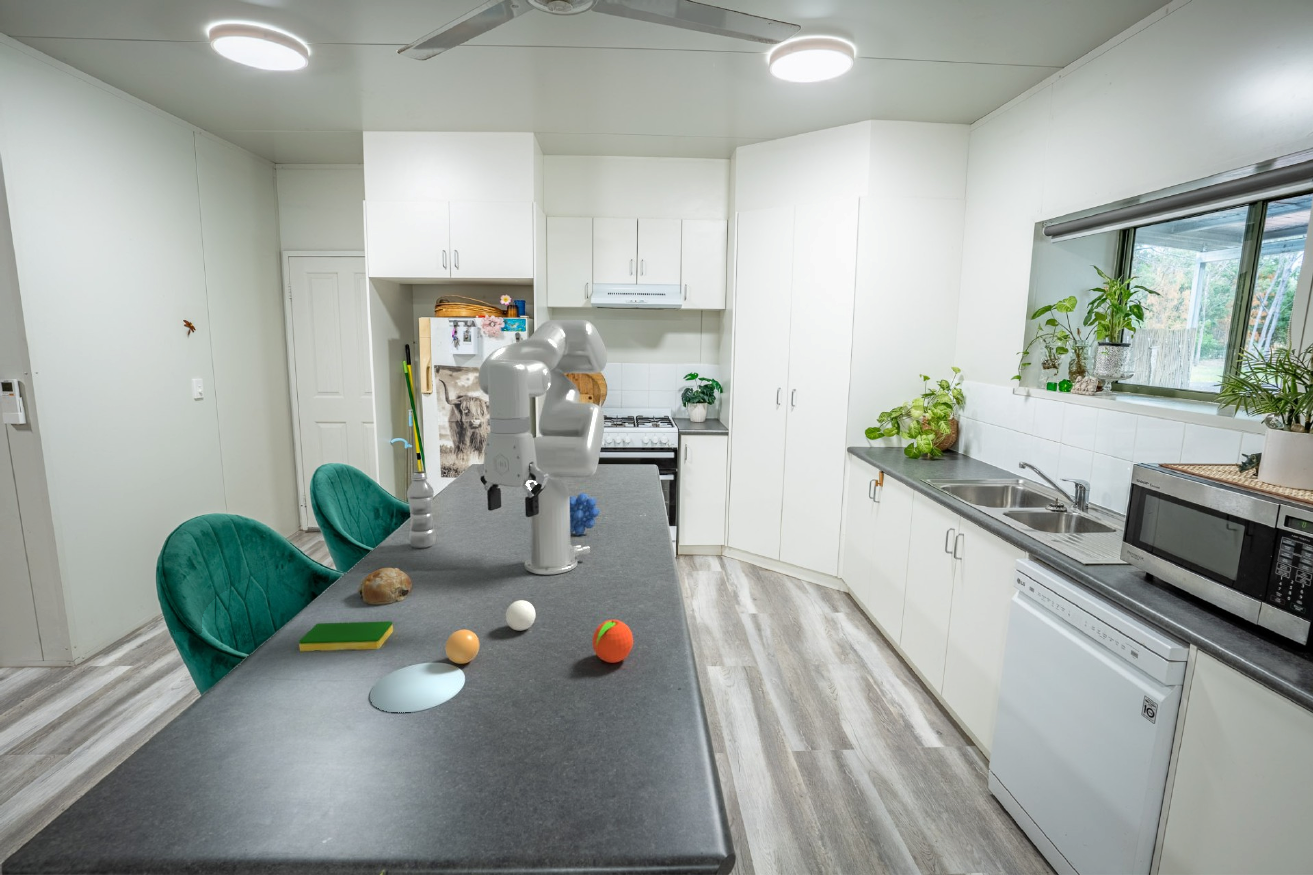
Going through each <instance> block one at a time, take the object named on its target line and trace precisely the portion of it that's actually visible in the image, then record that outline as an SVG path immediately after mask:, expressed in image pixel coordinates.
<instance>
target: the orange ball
mask: <svg viewBox="0 0 1313 875" xmlns="http://www.w3.org/2000/svg"><path fill="white" fill-rule="evenodd" d="M479 650H480V639H479V637H478V636H477V634H476V633H475V632H474V631H472V630H469V629H459V630H457V631H454V632H453V633H452V634H450V636H449V637H448V638H447V641H446V643H445V653H446V656H447V658H448V659H449V660H450V661H451V662H453V663H456V664H459V665H460V664H461V665H464V664H467V663H469V662H471V661H472V660H474V659H475V658H476V657H477V655H478V652H479Z"/></svg>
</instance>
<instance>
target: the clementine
mask: <svg viewBox="0 0 1313 875" xmlns="http://www.w3.org/2000/svg"><path fill="white" fill-rule="evenodd" d="M633 637H634V636H633V633H632V630H631V629H630V627H629V626H628V625H627V624H625V622H622V621H620V620H618V619H609V620H606V621H604V622H602V623H601V624H599V625H598V626H597V628H596V629H595V631H594V633H593V635H592V647H593V648H592V649H593V651H594V652H595V654H596V656H597V657H598V658H599V659H600V660H602V661H604V662H606V663H608V664H609V663H610V664H611V663H613V664H614V663H619V662H621V661H623V660H626V659H625V658H627V657H628V656H629V654H630V653H631V650H632V648H633V645H634V638H633Z"/></svg>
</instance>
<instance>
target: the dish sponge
mask: <svg viewBox="0 0 1313 875" xmlns="http://www.w3.org/2000/svg"><path fill="white" fill-rule="evenodd" d="M393 632H394V626H393V622H392V621H391V620H388V621H356V622H355V621H353V622H320V623H316V624H314V626H313V627H312V628H311V629H309V631H307V633H305V635H303V636H302V637H301V638H300V639H299V640H298V643H299V645H298V646H299V651H300V652H311V651H313V652H315V651H314V650H321V651H339V650H338V649H356V650H378V649H380V648H382V646H383V644H384V643H385V642H386V641H387V640H388V638H389V637H390V635H391V634H392V633H393ZM327 649H328V650H327Z"/></svg>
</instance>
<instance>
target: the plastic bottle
mask: <svg viewBox="0 0 1313 875" xmlns="http://www.w3.org/2000/svg"><path fill="white" fill-rule="evenodd" d="M410 480H411V481H412V482H411V484H410V485H409V487H408V489H407V491H406V496H407V497H406V498H407V501H408V506H409V513H410V514H409V515H410V526H409V528H410V530H409V534H408V540H409V543H410V545H411V546H412V548H413V547H414V548H419V549H420V548H427V547H428V548H429V547H431V546H433V545H434V544H435V542H437V541H436V539H437V534H436V529H435V526H434V525H435V524H434V519H433V503H434V494H435V493H434V488H433V487H432V485H431V484H430V482H428V481H427V480H428V474H427V471H424V470H420V471H419V470H417V471H412V472H411V473H410Z"/></svg>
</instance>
